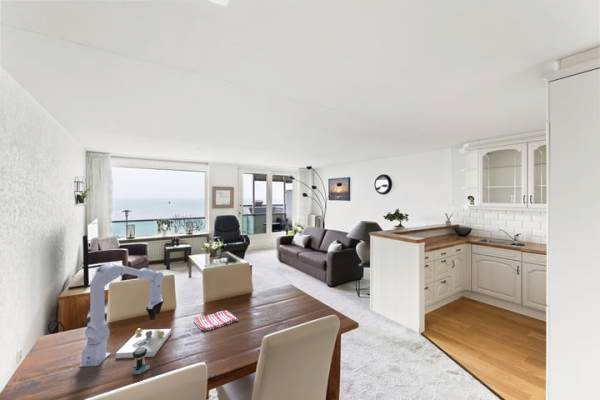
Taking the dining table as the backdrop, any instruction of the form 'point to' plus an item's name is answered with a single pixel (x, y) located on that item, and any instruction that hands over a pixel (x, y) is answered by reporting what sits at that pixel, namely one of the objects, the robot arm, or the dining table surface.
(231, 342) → the dining table surface
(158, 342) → the plate
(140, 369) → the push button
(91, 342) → the robot arm
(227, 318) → the dish towel
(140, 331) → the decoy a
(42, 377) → the dining table surface
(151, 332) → the ball
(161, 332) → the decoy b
